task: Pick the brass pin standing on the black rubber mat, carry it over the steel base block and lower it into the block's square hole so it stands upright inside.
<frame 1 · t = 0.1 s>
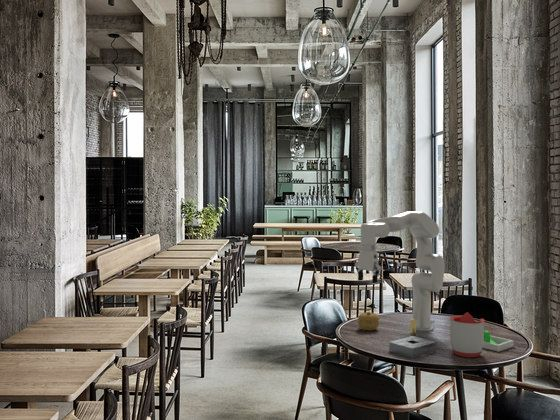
hand: (367, 281, 279), 31 cm above the table, tool pointing down, fingers open, 9 cm apart
brass pin: (412, 338, 286), resting on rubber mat
base block: (412, 351, 265), on the table
citrus juicer: (467, 354, 261), on the table
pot: (368, 330, 306), on the table
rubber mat: (412, 339, 286), on the table
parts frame: (487, 344, 277), on the table
mechanical part: (487, 345, 277), resting in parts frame
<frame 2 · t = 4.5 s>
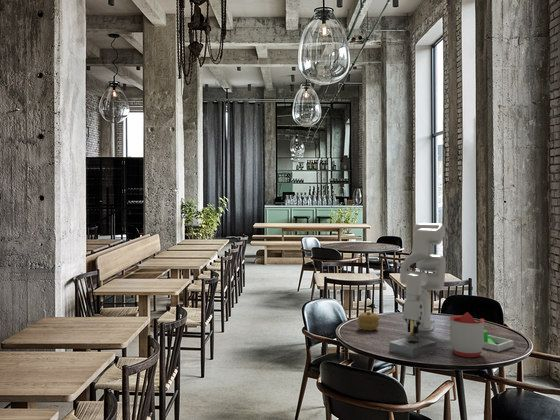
hand: (412, 332, 286), 4 cm above the table, tool pointing down, fingers closed on brass pin, 3 cm apart
brass pin: (412, 338, 286), point 1 cm above the table, touching gripper, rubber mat
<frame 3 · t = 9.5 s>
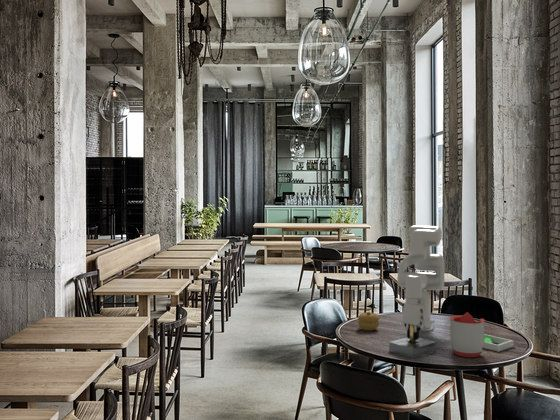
hand: (412, 338, 265), 6 cm above the table, tool pointing down, fingers closed on brass pin, 3 cm apart
brass pin: (412, 344, 265), point 3 cm above the table, touching gripper
mechanical part: (484, 344, 279), resting in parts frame
everything else where it was.
when the fingers open (6 cm above the table, at t = 10.0 s): brass pin drops 3 cm, resting in base block.
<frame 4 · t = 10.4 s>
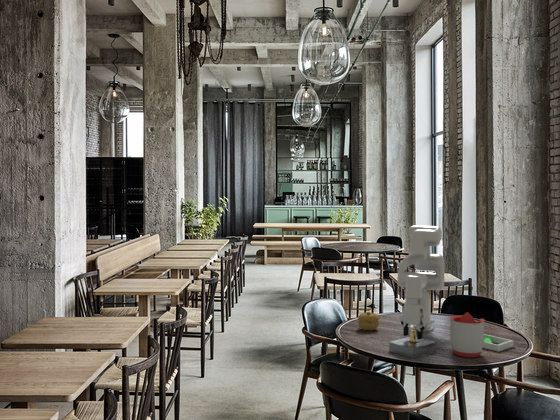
hand: (412, 337, 265), 7 cm above the table, tool pointing down, fingers open, 7 cm apart
brass pin: (412, 351, 265), resting in base block
everything else where it was.
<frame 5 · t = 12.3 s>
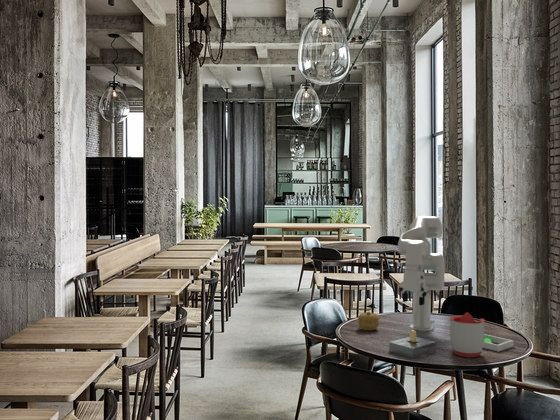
hand: (413, 303, 264), 23 cm above the table, tool pointing down, fingers open, 9 cm apart
mechanical part: (484, 344, 279), resting in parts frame
everything else where it was.
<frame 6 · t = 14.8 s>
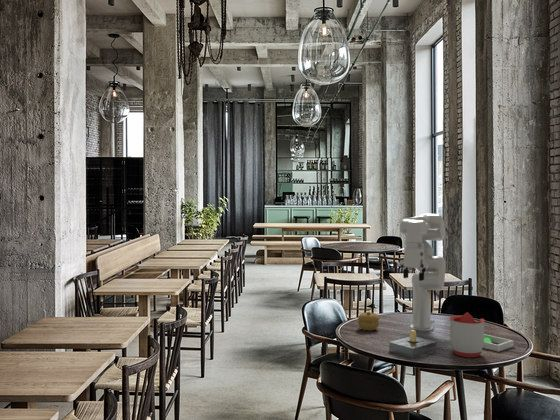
hand: (413, 279, 280), 32 cm above the table, tool pointing down, fingers open, 9 cm apart
mechanical part: (484, 343, 279), resting in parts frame
everything else where it was.
at the end: brass pin 0.0 cm off-centre on the base block, point 0.0 cm above the base block's base; brass pin tilted 0°; the gripper is holding nothing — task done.
